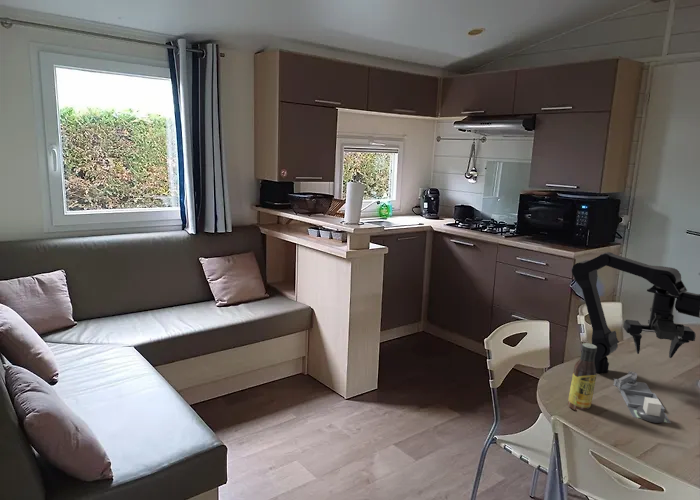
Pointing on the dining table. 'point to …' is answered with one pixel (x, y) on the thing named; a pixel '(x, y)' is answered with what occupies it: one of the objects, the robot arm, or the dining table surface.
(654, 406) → the plug
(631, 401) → the socket base
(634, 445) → the dining table surface
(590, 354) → the sauce bottle
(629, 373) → the pivoting lever handle
